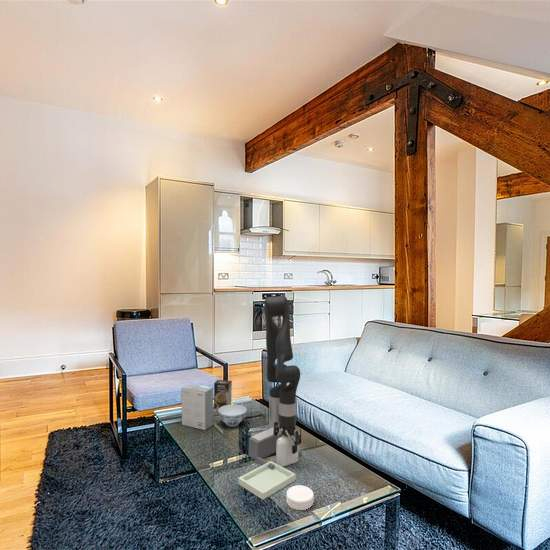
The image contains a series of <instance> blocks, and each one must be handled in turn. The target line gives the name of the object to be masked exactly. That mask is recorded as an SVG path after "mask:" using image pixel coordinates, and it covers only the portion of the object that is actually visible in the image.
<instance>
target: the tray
mask: <svg viewBox="0 0 550 550" xmlns="http://www.w3.org/2000/svg"><path fill="white" fill-rule="evenodd" d="M269 464H272V465H274V469H273V470H271V469H270V468H269ZM296 478H297V474H296V473H294V472H293V471H290V470H289V469H287V468H285V467H281V466H279V465H278V464H276V462H274V461H272V460H270V461H268V463H266V464H264V465H260V466H259V467H257V468H255V469H252V470H250V471H249V472H247V473H245V474H243V475H241V476H239V477H238V478H237V484H238V485H239V486H241V487H242V488H244V489H246V491H248V492H250V493H252V494H253V495H254V496H256V497H258V498H259V499H260V500H262V501H264V500H266V499H267V498H269V497H270V496H272V495H274V494H276V493H277V492H279V491H280V490H283V488H285V487H287V486H288V485H290V484H292V483H293V482H295V481H296V480H297V479H296Z"/></svg>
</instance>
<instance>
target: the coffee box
mask: <svg viewBox="0 0 550 550" xmlns="http://www.w3.org/2000/svg"><path fill="white" fill-rule="evenodd" d="M213 384H214V385H213V411H218V410H219V408H220V407H222V406H225V405H231V404H232V390H233V389H232V385H233V384H232V380H226V379H225V380H224V379H223V380H222V379H217V380H216V381H215V382H214V383H213Z"/></svg>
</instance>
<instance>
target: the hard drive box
mask: <svg viewBox="0 0 550 550" xmlns="http://www.w3.org/2000/svg"><path fill="white" fill-rule="evenodd" d="M213 425H214V387H211V386H206V385H205V386H204V385H200V384H199V385H198V384H194V383H193V384H192V383H189V384H186V385H185V386H183V387H181V426H187V427H189V428H190V427H191V428H194V429H199V430H203V431H206V430H207V429H210V428H211V427H212V426H213Z"/></svg>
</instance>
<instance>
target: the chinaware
mask: <svg viewBox="0 0 550 550" xmlns="http://www.w3.org/2000/svg"><path fill="white" fill-rule="evenodd" d="M217 411H218V415H219V417H220V420H221V421H222V422H223V423H225V425H226V426H227V427H238V425H240V423H241V422H242V421H243V420H244V419H245V417H246V414H247V411H248V409H247V407H246V406H244V405H241V404H237V403H236V404H233V403H231V405H225V406H222V407H220V408H219V410H217Z"/></svg>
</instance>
